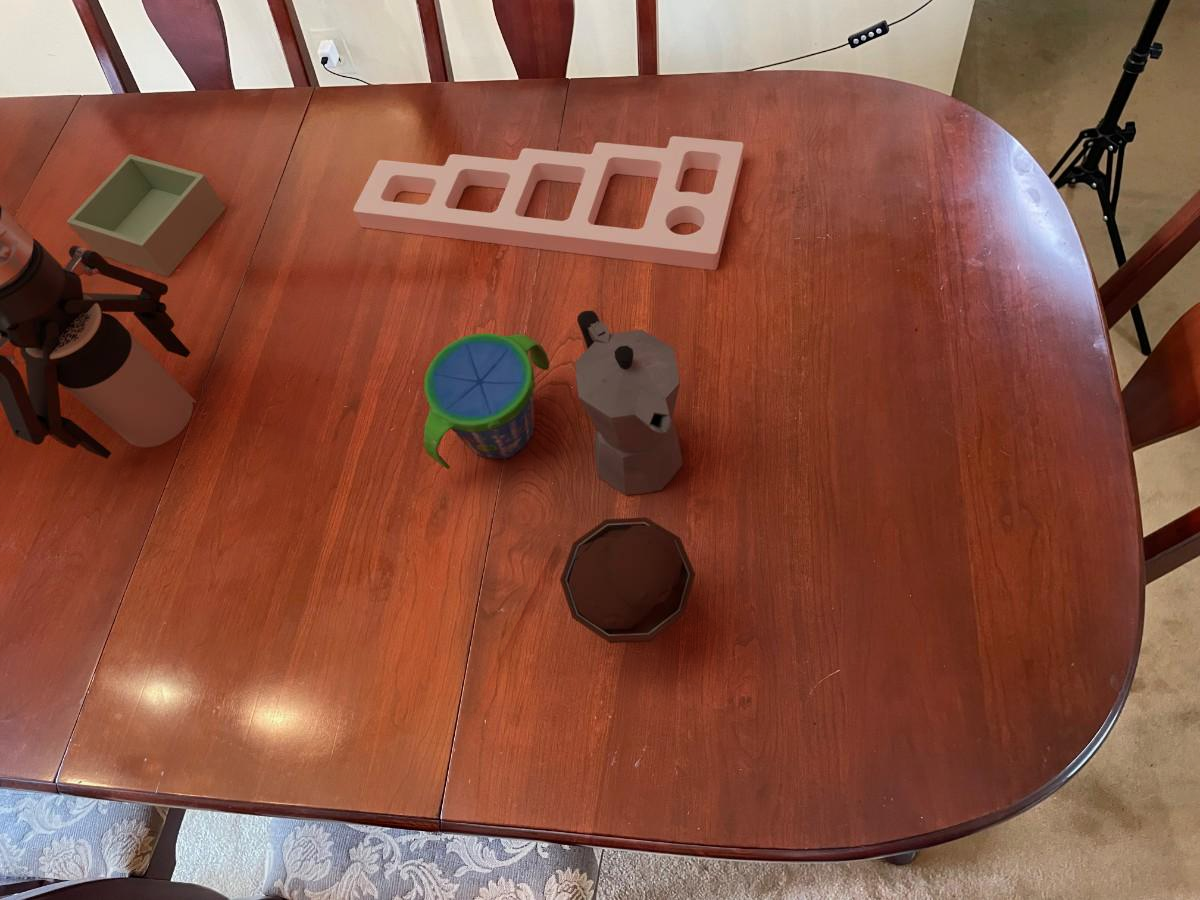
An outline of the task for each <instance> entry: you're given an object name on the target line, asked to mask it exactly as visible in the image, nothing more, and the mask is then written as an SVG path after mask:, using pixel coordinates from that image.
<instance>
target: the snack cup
mask: <svg viewBox="0 0 1200 900" xmlns="http://www.w3.org/2000/svg"><path fill="white" fill-rule="evenodd" d="M528 354H529V356H528ZM531 361H532V362H531ZM533 364H534V366H536V367H537V368H539V369H541V370H543V371H548V370H549V369H550V359H549V357H548V353H547V352H546V350H545V349H544V347H543V346H542V345H541V344H540V343H539V342H537V341H536V340H534V339H533V338H531V337H530V336H527V335H525V334H521V333H518V334H517V333H516V334H511V335H510V334H509V335H507V336H504V335H501V334H497V333H490V332H482V333H474V334H469V335H466V336H463V337H461V338H459V339H456V340H454V341H452V342H450V343H449V344H447V345H446V346H445V347H443V348H442V349H441V350H440V351H439V352H438V353H437V354H436V356H435V357H434V358H432V360H431V362H430V364H429V366H428V368H427V370H426V372H425V375H424V384H423V386H424V387H423V388H424V394H425V399H426V401H427V404H428V406H429V411H428V414H427V418H426V421H425V423H424V431H423V445H424V449H425V452H426V454H427V455H428V456H429V457H430V458H432V459H433V460H434V461H435V462H437V463H438V464H439V465H441V466H442V467H444V468H445V469H447V470H450V469H451V466H450V465H449V464H448V463H447V461H445V460H444V458H443V457H442V456H441V455H440V453H439V451H438V448H439V446H440V444H441V441H442V439H443V437H444V435H445V434H447V432H449V431H450V430H451V431H452V432H453V433H455V434H456V435H457V436H458V438H459V439H460V440H461V442H463V443H464V444H465V446H466V447H467V448H468V449H469V450H471V451H472V452H473V453H474V454H475V455H477V456H481V457H484V458H487V459H494V460H497V459H502V458H503V459H506V458H507V459H509V458H510V457H513V456H514V455H515V454H517V453H518V452H519V451H520V450H522V449H524V447H525V446H526V445H527V444H528V442H529V441H530V439H531V437H532V436H533V435H534V429H535V407H534V400H533V399H534V394H533V393H534V390H535V387H536V382H535V373H534V367H533Z"/></svg>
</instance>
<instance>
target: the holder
mask: <svg viewBox="0 0 1200 900" xmlns="http://www.w3.org/2000/svg"><path fill="white" fill-rule="evenodd" d="M743 161H744V142H742V141H733V140H732V141H731V140H722V139H721V140H720V139H712V138H711V139H709V138H697V137H689V136H679V135H678V136H676V135H673V136H671V137H670V138H669V141H668V145H667V147H655V146H645V145H644V146H643V145H632V144H622V143H612V142H600V141H599V142H596V143H594V147H593V150H592V152H591V153H580V152H570V151H569V152H568V151H557V150H550V149H549V150H547V149H538V148H528V147H524V148H522V149H521V151H520V153H519V156H518V158H517V159H507V158H506V159H505V158H498V157H497V158H496V157H487V156H486V157H485V156H477V155H466V154H455V153H452V154H450V155H448V158H447V160H446V162H445V163H444V165H437V164H435V165H434V164H425V163H416V162H407V161H395V160H386V159H379V160H378V161H377V163H376V164H375V166H374V168H373V170H372V172H371V174H370V176H369V177H368V179H367V182H366V183H365V186H364V187H363V189H362V191H361V193H360V195H359V197H358V199H357V201H356V202H355V205H354V207H353V209H352V210H353V213H354V214H355V217H356V219H357V221H358V223H359V225H360V227H361V228H366V229H373V230H374V229H375V230H381V231H382V230H383V231H389V232H398V233H407V234H414V235H422V236H430V237H440V238H446V239H447V238H448V239H456V240H463V241H472V242H480V243H488V244H496V245H503V246H504V245H505V246H511V247H521V248H529V249H537V250H545V251H552V252H553V251H554V252H562V253H570V254H576V255H577V254H579V255H586V256H593V257H603V258H610V259H620V260H627V261H635V262H642V263H643V262H644V263H651V264H658V265H659V264H661V265H667V266H677V267H684V268H692V269H700V270H701V269H702V270H710V271H715V270H717V269H718V266H719V261H720V258H721V253H722V249H723V245H724V241H725V236H726V233H727V229H728V225H729V220H730V216H731V211H732V207H733V203H734V201H735V200H734V199H735V195H736V191H737V187H738V183H739V179H740V174H741V170H742V166H743ZM690 169H694V170H695V169H697V170H705V171H707V170H708V171H714V172H715V171H716V177H715V180H714V184H713V188H712V191H711V192H709V193H705V194H704V193H700V192H695V191H680V189H681V186H682V183H683V179H684V175H685V172H686V171H687V170H690ZM614 175H624V176H633V177H635V176H636V177H645V178H654V179H657V181H656V185H655V188H654V191H653V195H652V198H651V201H650V203H649V204H650V205H649V207H648V210H647V214H646V218H645V221H644V224H643V226H642V227H641V228H637V229H636V228H635V229H634V228H625V227H618V226H617V227H616V226H609V225H608V226H607V225H599V224H595V223H596V220H597V217H598V215H599V211H600V209H601V205H602V202H603V200H604V197H605V193H606V190H607V188H608V185H609V181H610V178H611V177H613V176H614ZM540 181H555V182H565V183H571V184H572V183H574V184H580V186H579V188H578V192H577V194H576V198H575V201H574V203H573V206H572V208H571V211H570V214H569V216H568V218H567V219H565V220H556V219H548V218H538V217H530V216H525V214H526V211H527V209H528V206H529V204H530V201H531V199H532V196H533V194H534V191H535V189H536V186H537V184H538V182H540ZM470 186H477V187H485V188H495V189H502V190H503V189H504V192H503V194H502V197H501V199H500V202H499V204H498V206H497V208H496V210H494V211H493V212H485V211H477V210H468V209H461V208H457V207H458V204H459V202H460V200H461V197H462V195H463V193H464V191H465V189H466V188H467V187H470ZM401 192H409V193H418V194H427V195H430V196H429V198H428V200H427V201H426V202H425V203H423V204H417V203H408V202H407V203H406V202H400V201H395V200H396V197H397V195H398V194H399V193H401ZM680 224H693V225H696V226H698V227H699V228H700V229H698V230H697V231H695V232H693V233H689V234H679V233H675V232H674V231H672V230H671V229H672V228H673V227H675V226H677V225H680Z"/></svg>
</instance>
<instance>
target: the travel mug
mask: <svg viewBox="0 0 1200 900" xmlns="http://www.w3.org/2000/svg"><path fill="white" fill-rule="evenodd" d="M83 298H84V299H92V298H91V297H89V296H86V295H83ZM25 350H26V352H27V353H29V354H30V355H31V356H33V357H36V358H39V357H40V358H42V357H43V352H42V348H26V349H25ZM50 359H57V360H59V361H60V362H59V363H58V364H57V378H58V385H60V386H62V387H63V388H64V389H65V390H66V391H67V392H69V394H71V395H72V396H73V397H75V398H76V399H77V400H78V401H79V402H80V403H82V404H83V405H84V406H85V407H86V408H87V409H89V410H90V411H91V412H93V414H95V415H96V416H97V417H98V418H99V419H101V420H102V421H103V422H104V423H105V424H107V426H109V427H110V428H111V429H113V431H115V432H116V433H117V434H119V436H121V437H122V438H123V439H124V440H126V442H128V443H129V444H131V445H132V446H135V447H137V448H138V447H139V448H153V447H154V448H155V447H158V446H160V445H163V444H165V443H168V442H169V441H171V440H173V439H174V438H176V436H178V435H179V434H180V433H181V432H182V431H183V430H184V429H185V427H186V426H187V424H188V423H189V422H190V419H191V417H192V414H193V408H194V404H193V403H196V404H197V401H196V400H195V398H194V397H192V395H191V394H190V393H189V392H187V390H186V389H185V388H184V387H183V386H182V385H181V384H180V383H179V382H178V380H176V379H175V378H174V376H172V375H171V374H170V372H168V370H167V369H166V368H165V367H164V366H163V365H162V364H161V363H160V362H159V361H158V360H157V359H156V358H155V357H154V356H153V355H152V354H151V353H150V352H149V351H148V350H147V348H145V347H144V345H142V344H141V342H140V341H139V340H138V339H137V338H136V337H135V336H134V335H133V334H132V333H131V332H130V331H129V330H128V329H127V328H126V327H125V325H123V323H121V322H120V321H119V320H118V319H117V318H116V317H115V316H113V315H111V314H110V313H109V314H108V313H107V312H103V313H101V309H100V307H99V305H98V304H97V303H95V304H94V305H93V306H92V307H91V309H90V310H89V311H88V312H87V313H80V314H79V315H78V316H77V318H76V319H75V320H74V321H73V322H72V323H71V324H70V326H69V327H68V328H67V329H66V330H65V331H64V332H63V334H62V335H61V336H60V337H59V338H58V347H57V348H56V349H55V350H54V351H53V352H52V353H51V355H50Z"/></svg>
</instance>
